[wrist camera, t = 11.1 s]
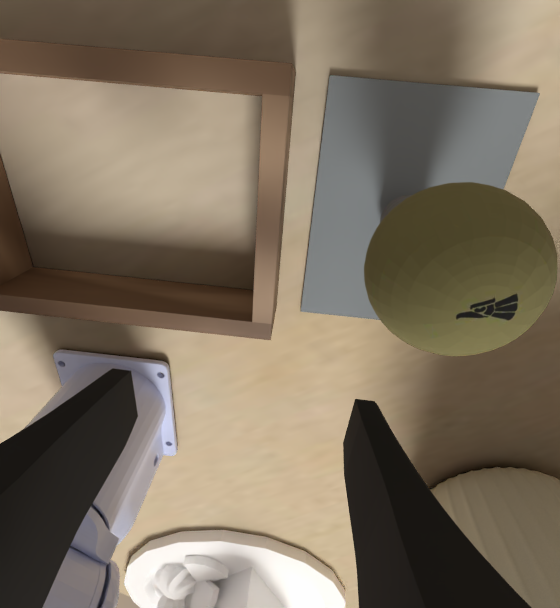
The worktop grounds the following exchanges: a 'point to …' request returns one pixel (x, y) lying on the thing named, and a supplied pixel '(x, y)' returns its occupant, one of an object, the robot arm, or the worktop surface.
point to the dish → (229, 573)
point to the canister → (511, 526)
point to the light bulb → (460, 268)
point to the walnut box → (146, 292)
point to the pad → (397, 167)
